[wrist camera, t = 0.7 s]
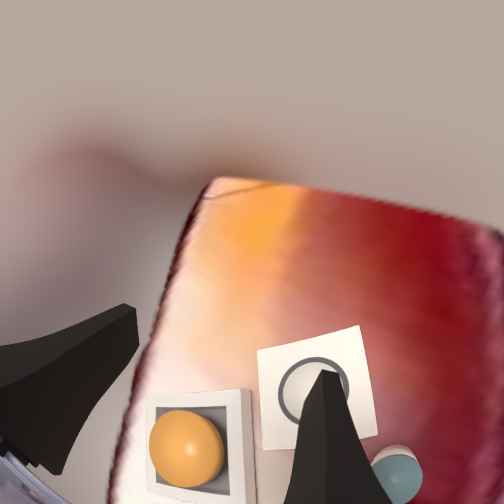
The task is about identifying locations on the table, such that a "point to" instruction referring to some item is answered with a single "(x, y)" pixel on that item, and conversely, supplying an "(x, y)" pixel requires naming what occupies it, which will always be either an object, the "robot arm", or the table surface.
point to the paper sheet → (303, 378)
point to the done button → (186, 448)
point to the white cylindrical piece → (398, 472)
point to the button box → (234, 440)
